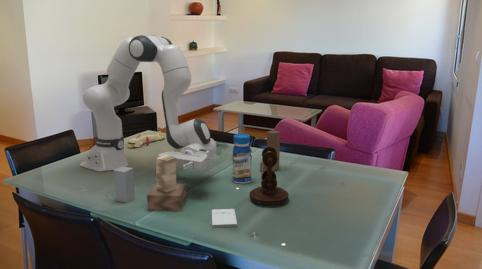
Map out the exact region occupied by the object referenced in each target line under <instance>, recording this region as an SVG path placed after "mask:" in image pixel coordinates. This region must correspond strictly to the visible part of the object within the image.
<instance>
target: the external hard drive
mask: <svg viewBox="0 0 482 269" xmlns="http://www.w3.org/2000/svg"><path fill="white" fill-rule="evenodd" d="M211 226H212V227H211V228H213V229H214V228H216V229H217V228H218V229H219V228H238V221H237V216H236V210H235V208H222V209H221V208H220V209H218V208H217V209H215V208H214V209H211Z"/></svg>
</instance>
